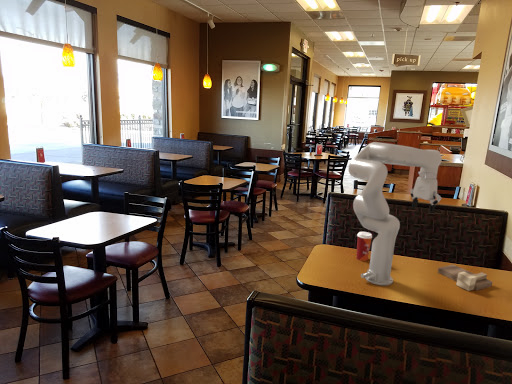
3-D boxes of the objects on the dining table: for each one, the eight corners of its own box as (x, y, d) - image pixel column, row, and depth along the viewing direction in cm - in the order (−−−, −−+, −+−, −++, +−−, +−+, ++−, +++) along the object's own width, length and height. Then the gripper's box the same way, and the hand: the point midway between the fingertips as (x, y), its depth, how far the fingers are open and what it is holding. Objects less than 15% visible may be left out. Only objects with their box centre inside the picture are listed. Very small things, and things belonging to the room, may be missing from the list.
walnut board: (491, 286, 171) (492, 281, 170) (476, 290, 166) (477, 285, 165) (452, 269, 188) (453, 264, 188) (437, 272, 183) (438, 267, 183)
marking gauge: (489, 285, 172) (491, 273, 170) (468, 290, 165) (470, 278, 163) (476, 279, 177) (479, 267, 175) (456, 284, 170) (458, 272, 169)
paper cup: (366, 262, 190) (370, 237, 187) (352, 259, 194) (355, 233, 191) (371, 258, 197) (374, 233, 194) (357, 254, 201) (360, 230, 198)
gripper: (407, 172, 183) (403, 206, 187) (438, 179, 168) (432, 215, 172) (418, 172, 187) (413, 204, 190) (449, 178, 172) (443, 214, 175)
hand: (422, 209), depth 181 cm, fingers open, 9 cm apart
